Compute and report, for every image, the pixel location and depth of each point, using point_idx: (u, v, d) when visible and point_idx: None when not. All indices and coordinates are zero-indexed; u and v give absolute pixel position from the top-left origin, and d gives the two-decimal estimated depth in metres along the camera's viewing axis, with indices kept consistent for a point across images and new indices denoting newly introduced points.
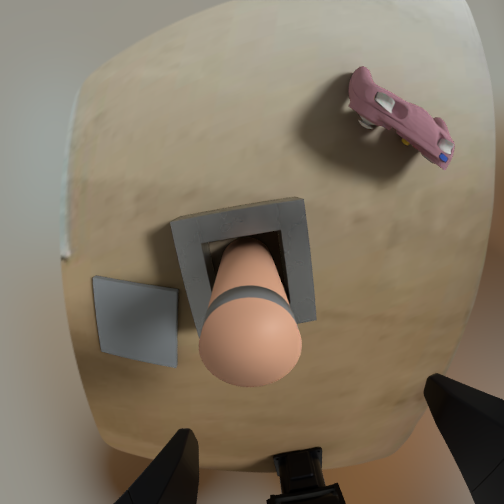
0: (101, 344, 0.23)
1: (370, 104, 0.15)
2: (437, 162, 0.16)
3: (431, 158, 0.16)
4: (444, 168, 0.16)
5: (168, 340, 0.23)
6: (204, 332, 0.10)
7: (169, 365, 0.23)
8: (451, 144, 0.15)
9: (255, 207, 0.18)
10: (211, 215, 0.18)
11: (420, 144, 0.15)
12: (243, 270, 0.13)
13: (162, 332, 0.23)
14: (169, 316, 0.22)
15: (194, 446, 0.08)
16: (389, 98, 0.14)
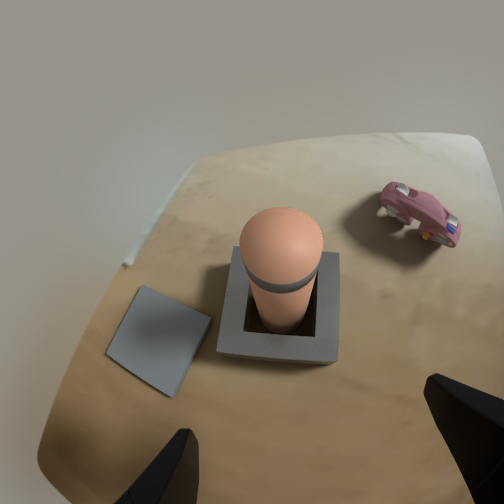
0: (110, 346, 0.23)
1: (392, 192, 0.23)
2: (446, 233, 0.20)
3: (441, 231, 0.21)
4: (453, 240, 0.20)
5: (180, 362, 0.21)
6: (251, 220, 0.14)
7: (165, 392, 0.20)
8: (455, 218, 0.20)
9: None
10: None
11: (429, 215, 0.21)
12: None
13: (178, 353, 0.22)
14: (193, 339, 0.22)
15: (194, 446, 0.08)
16: (404, 186, 0.22)
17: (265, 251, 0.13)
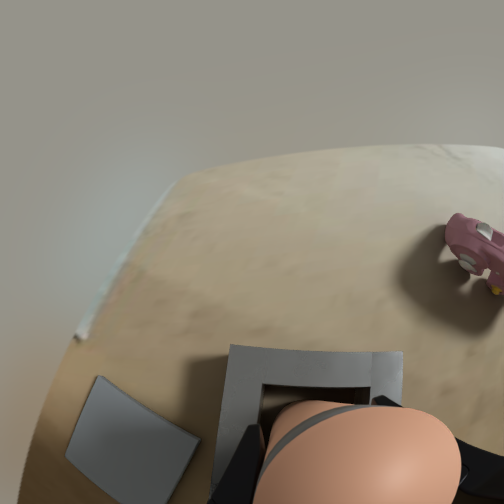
0: (68, 449, 0.12)
1: (472, 235, 0.13)
2: None
3: None
4: None
5: (158, 490, 0.11)
6: (286, 459, 0.03)
7: None
8: None
9: (345, 353, 0.12)
10: (287, 351, 0.13)
11: None
12: (341, 403, 0.07)
13: (155, 479, 0.11)
14: (174, 465, 0.12)
15: (263, 441, 0.08)
16: (488, 227, 0.12)
17: None
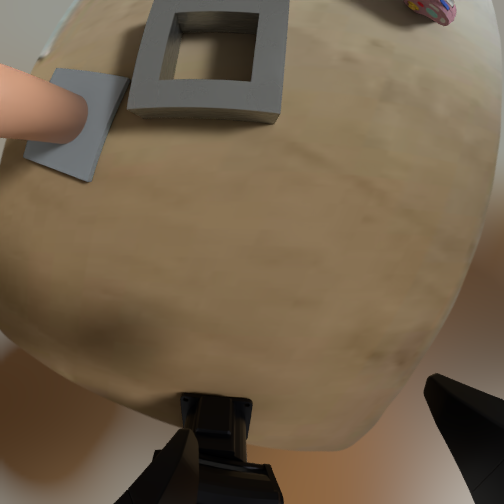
0: (26, 147, 0.15)
1: None
2: (439, 6, 0.10)
3: (433, 2, 0.10)
4: (447, 16, 0.10)
5: (93, 137, 0.16)
6: None
7: (81, 177, 0.16)
8: None
9: None
10: None
11: None
12: None
13: (92, 126, 0.15)
14: (107, 106, 0.15)
15: (194, 446, 0.08)
16: None
17: None
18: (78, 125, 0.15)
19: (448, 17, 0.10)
